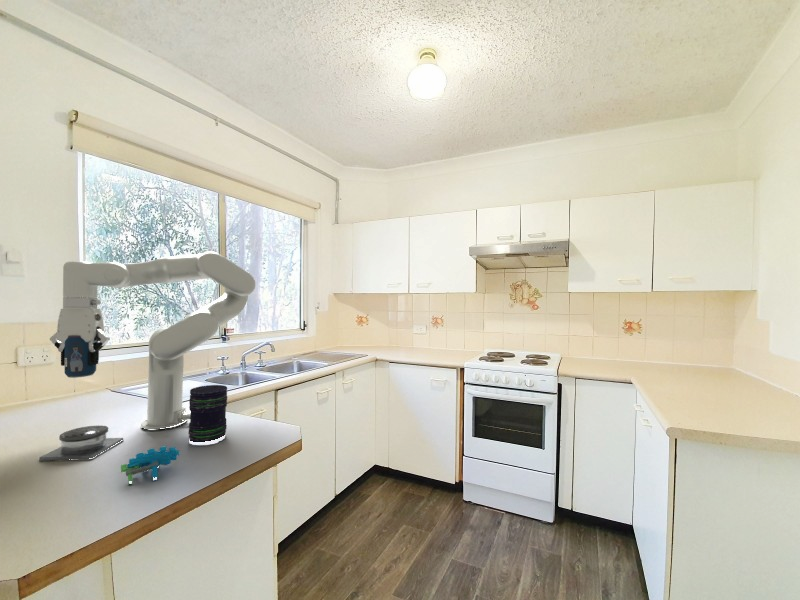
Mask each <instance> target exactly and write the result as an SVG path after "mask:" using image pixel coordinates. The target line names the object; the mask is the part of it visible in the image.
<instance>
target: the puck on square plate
mask: <svg viewBox="0 0 800 600" xmlns="http://www.w3.org/2000/svg"><path fill="white" fill-rule="evenodd" d="M108 432H109V427H108V426H106V425H89V426H81V427H77V428H73V429H69V430H67V431H64V432H62V433H61V434H59V439H58V440H59V441H60V444H61V445H60V446H59V447H57V448H56V449H55V448H54V449H53V450H52V451H49V452H46V453H45V454H43V455H41V456H39V459H38V460H39V462H53V461H52V460H69V459H70V460H69V461H72V460H71V459H89V458H93V457H95V456H96V455H98V454H100V453H101V452H103V451H105V450H107V449H108V448H110V447H111V446H113V445H115V444H116V443H118V442H120V441H121V440H123V441H124V437H107V433H108ZM50 460H51V461H50Z"/></svg>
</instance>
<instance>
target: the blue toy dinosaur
mask: <svg viewBox="0 0 800 600" xmlns="http://www.w3.org/2000/svg"><path fill="white" fill-rule="evenodd" d="M179 455H180V450H177V447H174V446H171V447H169V449H168V448H167V446H166V445H165V446H161V447H159V451H157V450H155V448H154V447H152V448H149V449H147V453H144V452H138V453H136V454H135V457H131V458H129V460H128V463H124V464H121V465H120V473H124V472H125V477H127V482H128V481H132V482H133V475H136V474H140V473H145V472H144V471H146V472H148V471H150V470H151V478H152V477H154V478H155V477H157V476H158V469H157V467H158V466H159V465H160V466H161V465H162V466H168V465H167V464H169V465H170V464H172V463H171V461H176V460H177V459H178V456H179ZM147 470H148V471H147ZM158 477H159V476H158Z"/></svg>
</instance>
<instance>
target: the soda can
mask: <svg viewBox="0 0 800 600" xmlns="http://www.w3.org/2000/svg"><path fill="white" fill-rule="evenodd" d="M94 340H95V339H94ZM93 345H94V346H95V343H93ZM88 352H91V351H90V350H89V343H87V342H85V341H84V340H83V339H82V338H81V336H68V338H67V339H66V340H65V366H64V374H65V376H66V377H67V378H69V379H70V378H72V379H75V378H84V377H85V378H86V377H90V376H94V374H95V372H96V371H97V364H96V365H92V366H88Z"/></svg>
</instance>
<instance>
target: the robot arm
mask: <svg viewBox="0 0 800 600" xmlns="http://www.w3.org/2000/svg"><path fill="white" fill-rule="evenodd" d="M62 267H63V269H62V270H63V271H62V272H63V273H62V308H60V311H59V315H58V319H57V327H56V328H57V329H56V332H55V333H54V334H52V336H50V338H49V341H50V342H51V343H52V344H53V345H54V347H56V348H57V350H58V352H59V353H60V366H61V367H63V366H64V367H65V340H66V339H67V338H68V336H81V338H82V339H83V340H84V341H85V342H87V343H89V350H90V351H91V352H88V366H92V365H96V366H97V365H99V360H100V359H99V358H100V351H101V350H102V349H103V348H104V346H105V345H106V344H107V343H108V342H109V341H110V339H111V338H110V337H109V335H107V334H106V333H105V326H104V324H105V323H104V318H103V313H102V310H101V308H98V306H99V305H101V303H102V302H101V300H99V299H98V286H99V287H107V288H108V287H109V288H113V289H119V288H120V289H121V288H129V287H134V286H135V287H136V286H144V285H145V286H146V285H154V284H169V283H171V284H173V283H179V282H186V281H195V280H205V279H210V280H212V281H214V282H215V283H217V284H219V285H220V286H222V287H224V292H223V294H222V295H221V296H219V298H217V299H216V300H215V299H214V301H212V302H210V303H209V304H207V305H205V306H203V307H201V308H199V309H197V310H194V311H192V312H191V313H189V314H187V315H186V317H185V318H183V319H181V320H179V321H177V322H176V323H173V324H172V325H170V326H168V327H162V328H159V329H157V330H155V331H154V332H153V333H152V335H150V338H149V341H148V381H147V384H148V386H147V414H146V415H147V416H146V419H145V420H143V421H142V422H141V424H140V428H141V427H142V428H145V429H160V428H166V427H170V426H174V425H177V424H179V423H182V422H184V421H185V420H187V421H188V420H190V411H187V410H186V407H185V406H184V407H183V398H184V397H183V393H184V392H183V391H184V390H183V388H184V387H183V386H184V355H185V354H187V353H188V352H190V351H193V350H194V349H195V348H197V347H198V346H200V345H202V344H203V343H205V342H207V341H209V340H210V339H211V338H213V337H214V336H215V335H216V334H217V332H218V329H219V328H220V327H222V326H223V325H225V324H226V323H228V322H230V321H231V320H232V319H234V318H236V317H237V316H238V315H239V314H241V312H243V310H244V308H246V305H247V303H248V298H249V295H251V294H252V293H253V292H254V291H255V289H256V280H255V278H254V277H253V276H252V274H251V273H249V272H248V271H247V270H246V269H244V268H242V267H240V266H239V265H237V264H236V263H234V262H233V261H231V260H229V259H228V258H226V256H224V255H222V254H220V253H218V252H215V251H205V252H203V253H198V254H197V253H196V254H189V255H188V254H186V255H174V256H173V255H172V256H164V257H160V258H156V259H154V260H153V259H152V260H150V261H145V262H144V261H143V262H141V261H140V262H133V263H119V262H115V261H113V262H112V261H111V262H110V261H109V262H108V261H107V262H90V261H77V260H75V261H73V260H72V261H67V262H65V263H64V264H63V266H62ZM94 339H95V340H94ZM93 343H95V346H94V345H93ZM182 420H184V421H182ZM142 428H141V429H142Z"/></svg>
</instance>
